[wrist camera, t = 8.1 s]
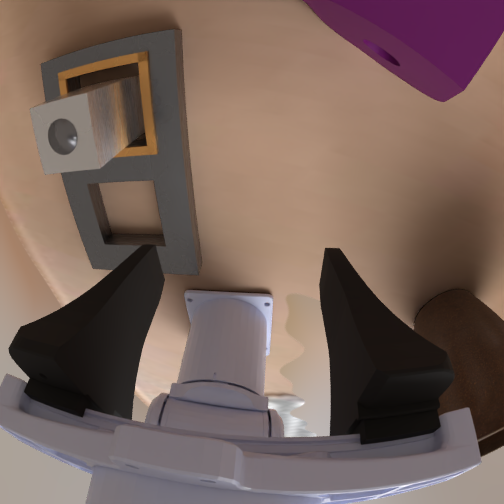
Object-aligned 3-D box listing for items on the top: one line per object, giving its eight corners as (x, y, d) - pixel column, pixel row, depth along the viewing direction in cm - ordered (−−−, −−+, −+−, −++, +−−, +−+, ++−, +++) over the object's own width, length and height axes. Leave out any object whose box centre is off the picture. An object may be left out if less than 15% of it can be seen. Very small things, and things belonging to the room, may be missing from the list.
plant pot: (518, 257, 22) (587, 382, 10) (468, 345, 32) (500, 450, 19) (403, 260, 24) (463, 440, 11) (369, 357, 33) (386, 485, 20)
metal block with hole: (145, 131, 19) (99, 169, 14) (97, 136, 19) (44, 175, 14) (140, 75, 16) (86, 93, 11) (89, 85, 16) (29, 109, 11)
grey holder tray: (202, 263, 25) (198, 276, 24) (99, 257, 26) (91, 270, 25) (181, 30, 14) (173, 28, 13) (53, 60, 15) (39, 64, 14)
